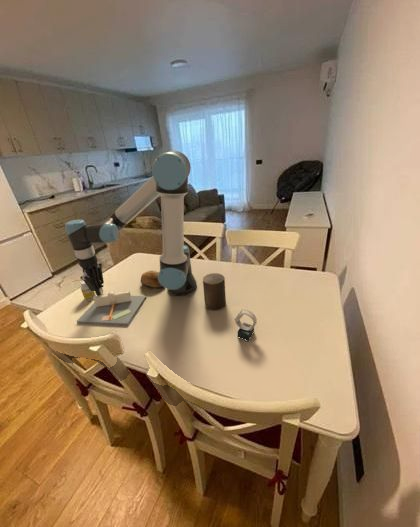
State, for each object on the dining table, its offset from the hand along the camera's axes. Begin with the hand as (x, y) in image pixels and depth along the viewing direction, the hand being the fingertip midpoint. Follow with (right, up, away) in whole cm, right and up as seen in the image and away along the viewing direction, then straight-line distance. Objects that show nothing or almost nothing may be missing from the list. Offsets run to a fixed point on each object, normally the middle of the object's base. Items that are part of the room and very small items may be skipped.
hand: (102, 299), depth 114 cm
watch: (+65, -10, -23) cm, 70 cm away
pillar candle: (+54, -2, -4) cm, 55 cm away
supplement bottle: (-10, -1, +8) cm, 12 cm away
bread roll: (+21, +5, +15) cm, 26 cm away
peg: (+7, -4, -5) cm, 10 cm away
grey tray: (+7, -4, -3) cm, 9 cm away
